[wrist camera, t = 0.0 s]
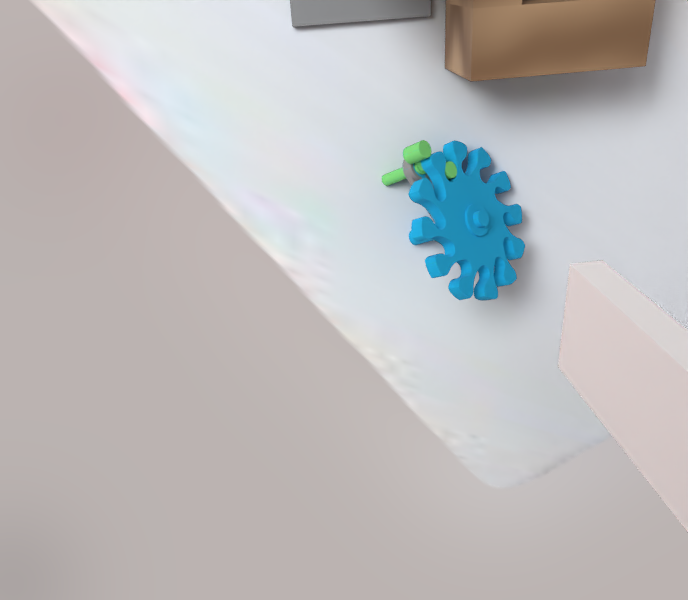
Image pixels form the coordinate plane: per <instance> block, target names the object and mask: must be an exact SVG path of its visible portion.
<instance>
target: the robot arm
mask: <svg viewBox="0 0 688 600" xmlns="http://www.w3.org/2000/svg"><path fill="white" fill-rule="evenodd" d="M558 368H559V369H560V370H561V372H562V373H563V374H564V376H565V377H566V378H567V379H568V381H569V382H570V383H571V384H572V386H573V387H574V388H575V390H576V391H577V392H578V393H579V395H580V396H581V397H582V398H583V400H584V401H585V402H586V404H587V405H588V406H589V407H590V409H591V410H592V411H593V412H594V414H595V415H596V416H597V418H598V419H599V420H600V421H601V423H602V424H603V425H604V426H605V428H606V429H607V430H608V432H609V433H610V434H611V435H612V437H613V438H614V439H615V440H616V442H617V443H618V444H619V445H620V447H621V448H622V449H623V451H624V452H625V453H626V454H627V456H628V457H629V458H630V459H631V461H632V462H633V463H634V465H635V466H636V467H637V468H638V470H639V471H640V472H641V473H642V474H643V476H644V477H645V479H646V480H647V481H648V482H649V484H650V485H651V486H652V487H653V489H654V490H655V491H656V493H657V494H658V495H659V496H660V498H661V499H662V500H663V501H664V503H665V504H666V505H667V507H668V508H669V509H670V510H671V512H672V513H673V514H674V515H675V517H676V518H677V519H678V521H679V522H680V523H681V524H682V526H683V527H684V528H685V529H686V531H687V532H688V330H687V329H686V328H684V327H683V326H682V325H681V324H680V323H678V322H677V321H676V320H675V319H674V318H672V317H671V316H670V315H669V314H667V313H666V312H665V311H664V310H663V309H661V308H660V307H659V306H658V305H656V304H655V303H654V302H653V301H652V300H650V299H649V298H648V297H647V296H646V295H644V294H643V293H642V292H641V291H639V290H638V289H637V288H636V287H635V286H633V285H632V284H631V283H630V282H629V281H627V280H626V279H625V278H624V277H622V276H621V275H620V274H619V273H618V272H616V271H615V270H614V269H613V268H611V267H610V266H609V265H608V264H607V263H605V262H604V261H603V260H599V261H591V262H582V263H573V264H570V267H569V276H568V284H567V293H566V301H565V310H564V318H563V327H562V335H561V344H560V352H559V361H558Z"/></svg>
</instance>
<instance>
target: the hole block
mask: <svg viewBox="0 0 688 600" xmlns="http://www.w3.org/2000/svg"><path fill="white" fill-rule="evenodd" d="M654 7H655V0H446V24H445V68H446V69H448V70H450V71H451V72H453V73H455V74H457V75H459V76H461V77H463V78H465V79H467V80H469V81H481V80H493V79H504V78H515V77H527V76H538V75H550V74H561V73H573V72H584V71H596V70H607V69H619V68H630V67H641V66H646V60H647V53H648V47H649V40H650V33H651V27H652V20H653V14H654Z"/></svg>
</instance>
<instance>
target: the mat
mask: <svg viewBox="0 0 688 600" xmlns="http://www.w3.org/2000/svg"><path fill="white" fill-rule="evenodd" d="M290 4H291V16H292V26H293V27H295V26H308V25H321V24H334V23H347V22H360V21H373V20H386V19H399V18H412V17H426V16H431V0H290Z"/></svg>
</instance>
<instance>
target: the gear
mask: <svg viewBox="0 0 688 600" xmlns="http://www.w3.org/2000/svg"><path fill="white" fill-rule="evenodd" d="M443 153H444V154H443ZM443 153H442V152H436V153H433V154H431V147H430V145H429V143H428V142H426V141H424V140H422V141H420V142H418V143H415V144H413V145H411V146H409V147H406V148H405V149H404V151H403V157H404V159H405V160H404V162H403V167H402V168H400V169H397V170H395V171H392V172H390V173H387V174H385V175H383V176H382V182H383V184H384V185H386V186H388V185H391V184H394V183H396V182H399V181H401V180H404V179H407V180H408V181H409V183H410V185H411V189H410V191H409V197H410V198H411V200H412V201H413V202H415V203H418V204H420V205H422V206H423V207H425V208H426V210H427V211H428V213H429V214H430V216H431V217H432V219H433V220H434V222H435V224H434V223H433V221H432V220H431V219H430V218H429V217H426V216H425V217H421V218H418V219H415V220H413V221H412V231H411V232H410V233H409V239H410V242H411V243H412V244H413V245H418V244H421V243H425V242H429V241H433V240H435V241H437V242H439V243H440V244H442V246H443V247H444V250H445V255H444V254H436V255H432V256H429V257H427V258H426V260H425V263H426V267H427V269H428V272H429V274H430V276H431V278H436V277H441V276H445V275H447V274H448V273H449V271H450V268H451V267H452V265H453V264H454V263H455V262H457V263H458V264H459V265H460V267H461V275H460V277H459V278H457V279H453V280H451V281H450V283H449V291H450V292H451V293H452V294H453V295H454V296H455V297H456V298H457V299H459V300H462V299H468V298H471V296H472V295H473V285H474V278H475V275H476V273H477V271H478V272H479V281H478V283H477V284H476V286H475V288H474V296H475V298H476V299H478V300H491V299H497V297H498V290H497V287H498V286H504V285H510V284H512V283H513V282H514V281H515V280H516V279H517V276H516V272H515V270H514V269H513V268H512V267H511V265H510V264H509V262H508V260H513V259H518V258H521V257H522V255H523V252H524V248H525V244H524V242H523V241H522V240H521V239H519V238H517V237H515V236H514V235H512V234H511V233H510V231H509V230H508V228H507V227H506V225H507V226H512V225H516V224H520V223H521V222H522V211H521V207H520V206H519V205H518V204H514V205H511V206H506V205H504V204H502V203H501V202H499V201H498V200H497V199H496V197H495V194H499V193H502V192H505V191H508V190H510V188H511V185H510V181H509V179H508V176H507V174H506V172H505V171H502V172H499V173H496V174H493V175H491V176H490V178H489V180H488V182H487V183H484V182H483V181H482V180H481V177H480V170H481V169H483V168H486V167H489V166H490V164H491V158H490V156H489V155H488V153H487V152H486V151H485V150H484V149H483V148H482V147H481V148H478V149H476V150H473V151H471V152H470V153H469V154H468V166H467V170H466V172H465V173H464V172H463V170H462V161H463V160H464V159H465V158H466V156H467V147H466V145H465V144H463V143H461V142H458V141H452V142H450V143H447V144H445V145H444V147H443ZM505 224H506V225H505ZM507 259H508V260H507ZM496 286H497V287H496Z"/></svg>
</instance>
